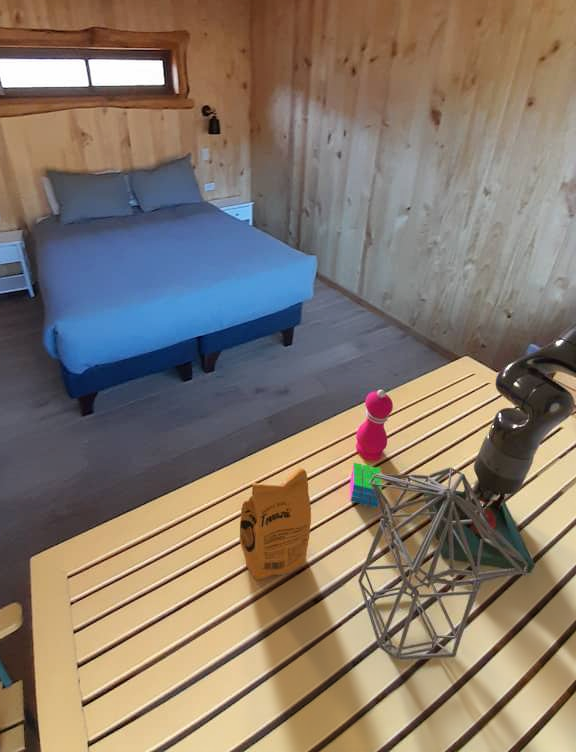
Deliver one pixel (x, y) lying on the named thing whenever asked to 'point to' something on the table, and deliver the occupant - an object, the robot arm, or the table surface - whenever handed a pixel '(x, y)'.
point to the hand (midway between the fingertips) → (479, 514)
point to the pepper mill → (374, 426)
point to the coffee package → (276, 526)
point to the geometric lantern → (422, 551)
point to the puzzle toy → (364, 484)
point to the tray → (489, 552)
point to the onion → (489, 518)
